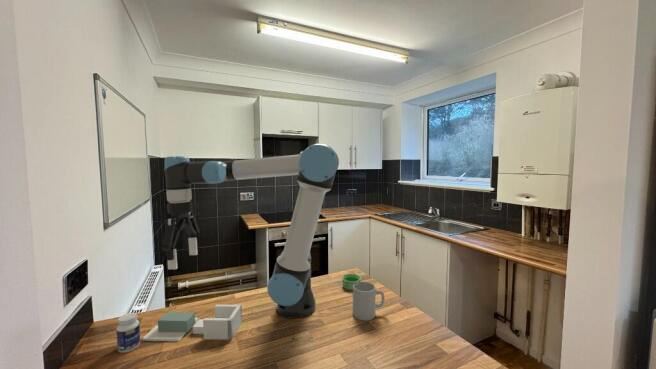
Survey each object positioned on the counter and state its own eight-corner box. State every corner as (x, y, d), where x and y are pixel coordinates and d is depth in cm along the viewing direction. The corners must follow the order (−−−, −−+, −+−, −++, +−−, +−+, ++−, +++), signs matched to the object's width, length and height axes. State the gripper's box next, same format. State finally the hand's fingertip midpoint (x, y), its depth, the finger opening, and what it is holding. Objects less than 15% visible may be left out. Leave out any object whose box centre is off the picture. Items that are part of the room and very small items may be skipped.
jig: (241, 322, 97) (241, 304, 96) (231, 339, 87) (231, 320, 87) (203, 321, 97) (202, 304, 96) (188, 338, 87) (187, 319, 87)
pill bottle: (128, 354, 80) (126, 323, 80) (112, 352, 81) (110, 320, 81) (145, 342, 86) (143, 312, 85) (130, 340, 87) (128, 310, 86)
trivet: (198, 319, 98) (197, 317, 98) (179, 341, 86) (178, 338, 86) (165, 319, 99) (165, 317, 98) (142, 340, 87) (142, 338, 87)
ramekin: (340, 290, 121) (340, 280, 121) (342, 281, 130) (342, 272, 130) (360, 291, 120) (360, 282, 119) (361, 283, 128) (361, 274, 128)
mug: (354, 321, 97) (354, 292, 96) (351, 308, 106) (351, 281, 105) (387, 320, 98) (387, 291, 97) (381, 307, 106) (381, 280, 105)
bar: (195, 323, 95) (194, 312, 94) (187, 332, 90) (186, 321, 89) (167, 322, 95) (167, 312, 95) (158, 331, 90) (157, 320, 90)
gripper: (187, 197, 105) (191, 250, 106) (144, 207, 80) (149, 276, 82) (206, 196, 105) (210, 249, 106) (169, 206, 80) (174, 275, 82)
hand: (183, 261), depth 94 cm, fingers open, 13 cm apart
